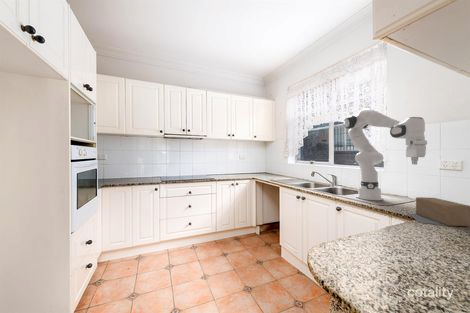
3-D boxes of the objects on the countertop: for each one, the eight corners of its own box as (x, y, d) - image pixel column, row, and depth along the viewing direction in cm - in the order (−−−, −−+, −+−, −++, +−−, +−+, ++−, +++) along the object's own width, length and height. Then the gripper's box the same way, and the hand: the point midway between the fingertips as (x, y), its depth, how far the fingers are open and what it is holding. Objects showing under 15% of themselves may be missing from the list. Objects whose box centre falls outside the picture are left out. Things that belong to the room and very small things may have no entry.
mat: (407, 213, 117) (407, 213, 117) (434, 216, 111) (434, 216, 111) (419, 222, 101) (419, 222, 101) (452, 226, 95) (452, 225, 95)
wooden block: (434, 214, 114) (471, 226, 94) (415, 214, 115) (448, 225, 95) (434, 197, 114) (471, 205, 94) (415, 197, 115) (447, 205, 95)
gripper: (403, 143, 133) (402, 163, 134) (414, 141, 115) (413, 164, 115) (415, 143, 131) (414, 164, 131) (428, 141, 112) (428, 165, 112)
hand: (414, 164), depth 123 cm, fingers closed
